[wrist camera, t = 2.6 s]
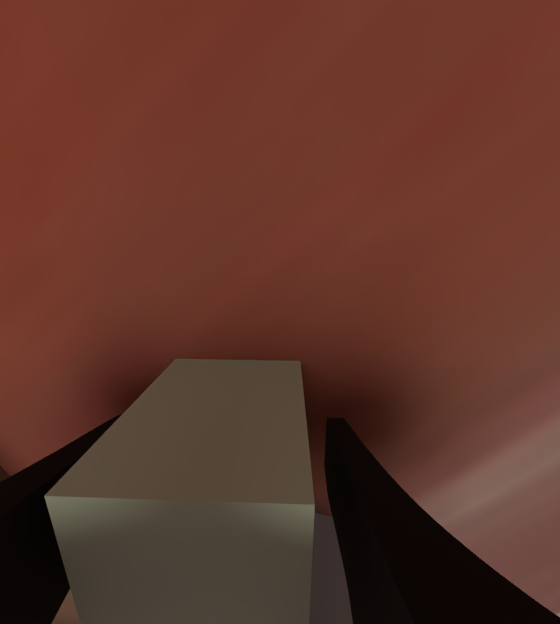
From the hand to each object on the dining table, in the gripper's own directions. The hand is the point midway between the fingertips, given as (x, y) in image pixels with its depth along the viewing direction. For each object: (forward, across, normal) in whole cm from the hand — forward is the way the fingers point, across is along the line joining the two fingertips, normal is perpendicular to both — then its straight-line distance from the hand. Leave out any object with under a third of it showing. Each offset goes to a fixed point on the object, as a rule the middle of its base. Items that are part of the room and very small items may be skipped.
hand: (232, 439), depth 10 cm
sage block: (+2, 0, 0) cm, 2 cm away
